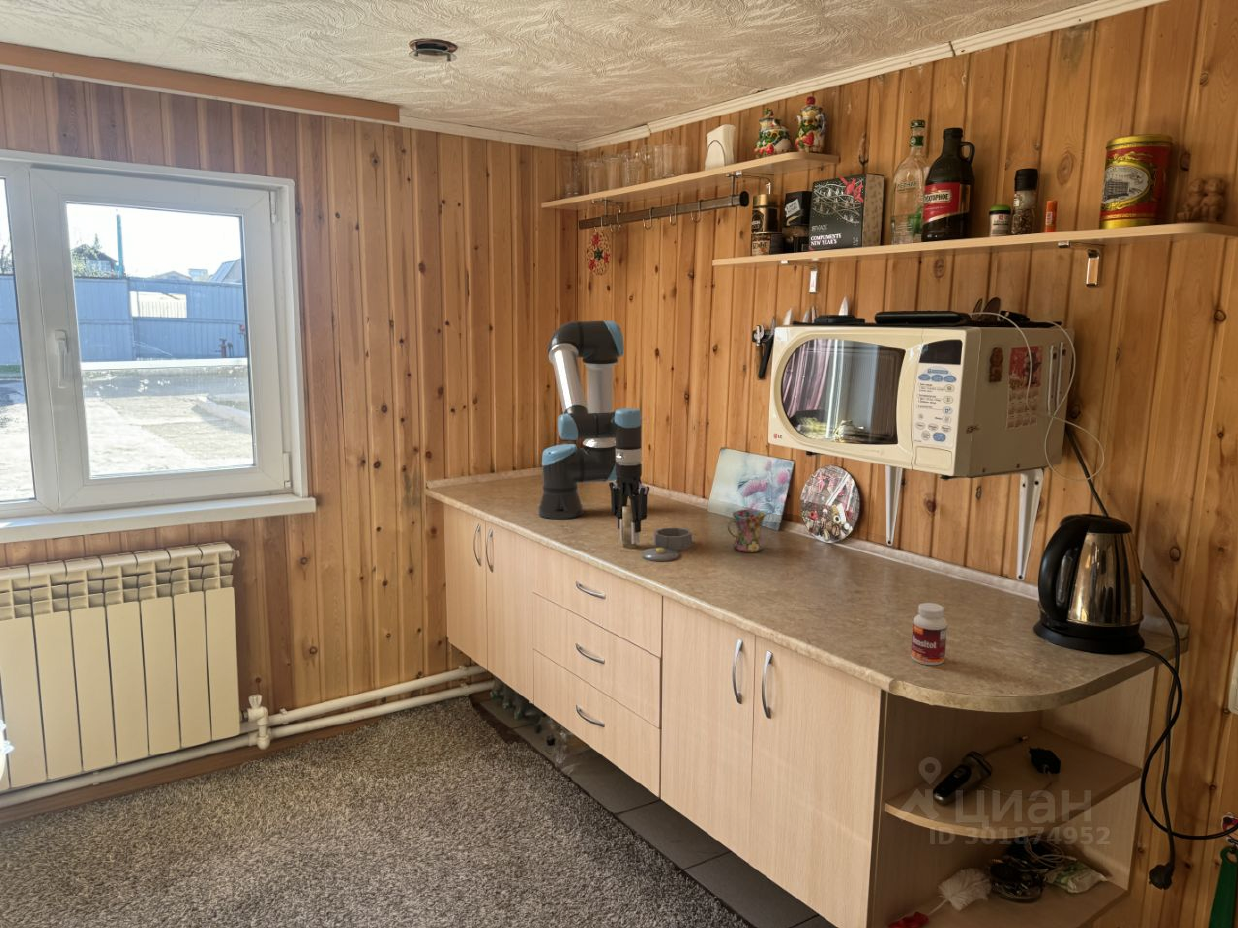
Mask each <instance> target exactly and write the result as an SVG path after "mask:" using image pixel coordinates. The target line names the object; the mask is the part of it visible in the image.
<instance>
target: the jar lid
mask: <svg viewBox="0 0 1238 928" xmlns="http://www.w3.org/2000/svg"><path fill="white" fill-rule="evenodd" d="M641 554H642V558H643V559H644V560H646V561H650V562H670V561H673V560H677V559H678V558H679V552H678V550H673V549H668V548H655V547H653V548H652V547H651V548H649V549H645V550H643V551H642V553H641Z"/></svg>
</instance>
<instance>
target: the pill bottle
mask: <svg viewBox="0 0 1238 928" xmlns="http://www.w3.org/2000/svg"><path fill="white" fill-rule="evenodd" d="M944 610H945V608H944V607H943V606H942V605H940V604H938V603H931V602H925V603H920V604H918V607H917V615H915V616H914V618H913V623H912V641H911V653H910V655H911V656H910V657H911V659H912V660H913V661H914V662H915V663H918V664H921V665H925V666H939V665H941V664H943V663H944V661H945V655H946V645H947V644H946V642H947V631H948V630H947V627H948V623H947V620H946V618H944V617H943V616H944V612H945V611H944Z"/></svg>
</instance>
